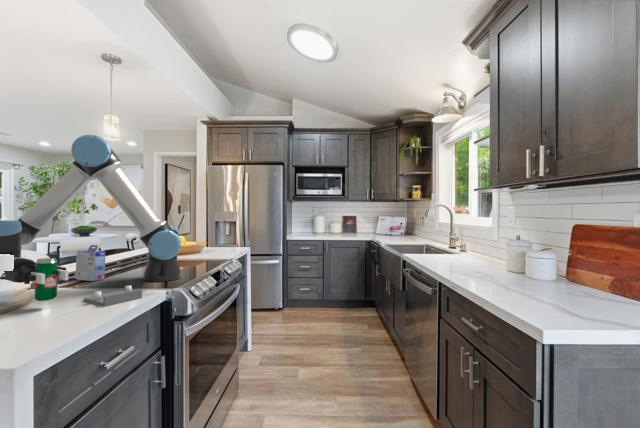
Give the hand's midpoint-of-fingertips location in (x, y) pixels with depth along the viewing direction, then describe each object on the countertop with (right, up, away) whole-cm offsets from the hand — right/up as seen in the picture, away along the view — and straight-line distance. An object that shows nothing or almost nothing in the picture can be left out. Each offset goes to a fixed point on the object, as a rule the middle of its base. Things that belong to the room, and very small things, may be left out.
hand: (55, 277), depth 93 cm
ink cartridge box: (-21, -10, +43) cm, 49 cm away
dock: (+8, -10, +14) cm, 19 cm away
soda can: (-5, -7, +2) cm, 9 cm away
